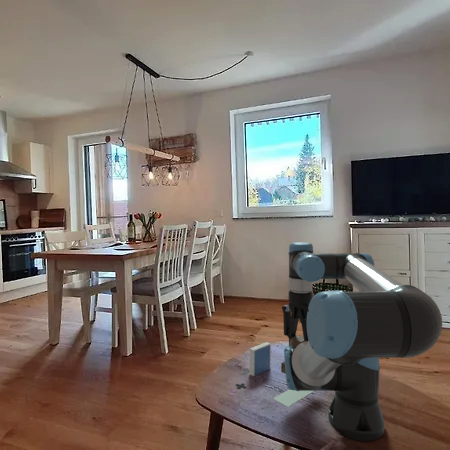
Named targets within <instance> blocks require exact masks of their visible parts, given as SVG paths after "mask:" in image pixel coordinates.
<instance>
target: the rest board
mask: <svg viewBox="0 0 450 450" xmlns="http://www.w3.org/2000/svg"><path fill="white" fill-rule="evenodd" d="M313 392H314V391H296V390H290V389H288V390H285V391H284V392H282V393H280V394H278V395H277V396H275V397H273V400H274V401H276V402H277V403H280V404H281V405H283V406H285V407H287V408H289V407H291V406H292V405H294V404H295V403H297V402H299V401H301V400H302V399H304V398H305V397H307V396H308V395H310V394H311V393H313Z"/></svg>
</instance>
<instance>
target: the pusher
mask: <svg viewBox="0 0 450 450" xmlns="http://www.w3.org/2000/svg"><path fill="white" fill-rule="evenodd" d="M303 342H304V337H303V335H302V336H301V335H296V337H293V338H291V346H294V347H297V346H298V345H299V344H301V343H303ZM280 365H281V370H280V371H281V373H282V374H285V375H286V372H285V360H284V361H282V362H281V363H280Z"/></svg>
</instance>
